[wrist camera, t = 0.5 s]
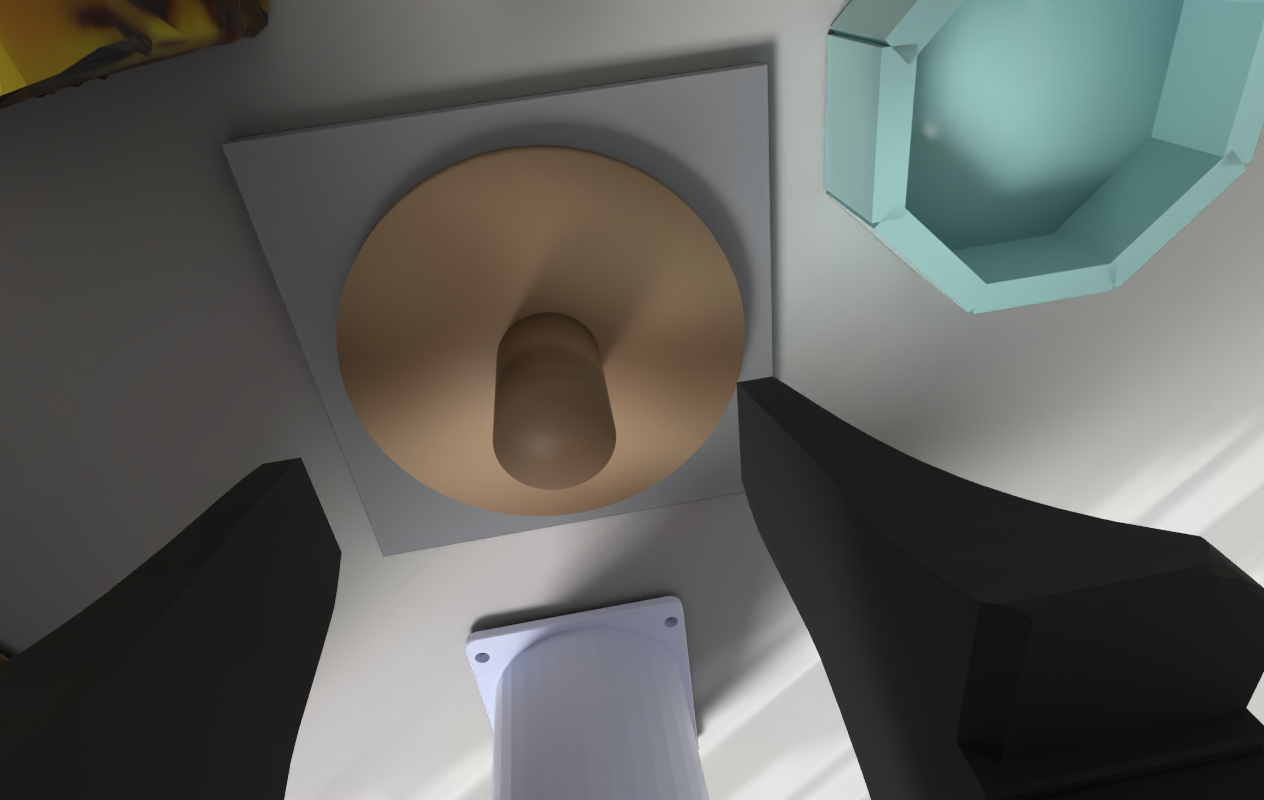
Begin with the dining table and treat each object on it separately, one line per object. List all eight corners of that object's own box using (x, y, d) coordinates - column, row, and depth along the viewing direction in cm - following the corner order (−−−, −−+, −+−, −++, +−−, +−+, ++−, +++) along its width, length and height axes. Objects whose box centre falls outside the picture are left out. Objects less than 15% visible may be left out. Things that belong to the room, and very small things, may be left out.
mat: (769, 475, 25) (774, 486, 25) (386, 544, 24) (383, 556, 24) (760, 61, 18) (767, 64, 18) (229, 138, 18) (221, 144, 17)
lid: (744, 467, 24) (790, 571, 20) (406, 527, 24) (383, 647, 19) (728, 114, 18) (789, 159, 14) (280, 181, 18) (210, 248, 14)
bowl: (1130, 235, 22) (1216, 273, 20) (821, 285, 22) (865, 332, 19) (1227, -160, 17) (1360, -182, 15) (830, -107, 17) (891, -119, 14)
